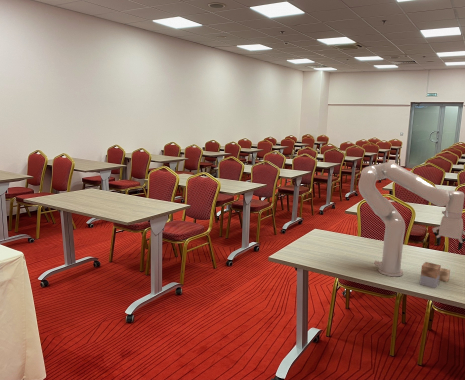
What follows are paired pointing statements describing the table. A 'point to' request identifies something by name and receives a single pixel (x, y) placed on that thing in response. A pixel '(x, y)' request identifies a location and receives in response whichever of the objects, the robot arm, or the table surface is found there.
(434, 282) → the base block
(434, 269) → the top block
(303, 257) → the table surface
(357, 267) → the table surface
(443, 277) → the oak cube
